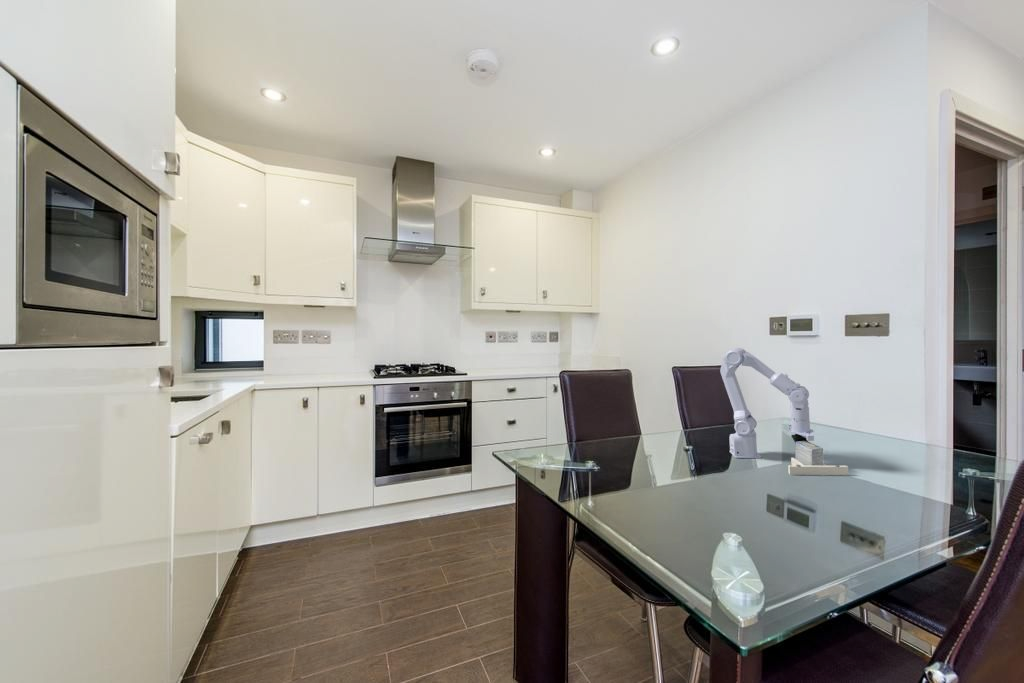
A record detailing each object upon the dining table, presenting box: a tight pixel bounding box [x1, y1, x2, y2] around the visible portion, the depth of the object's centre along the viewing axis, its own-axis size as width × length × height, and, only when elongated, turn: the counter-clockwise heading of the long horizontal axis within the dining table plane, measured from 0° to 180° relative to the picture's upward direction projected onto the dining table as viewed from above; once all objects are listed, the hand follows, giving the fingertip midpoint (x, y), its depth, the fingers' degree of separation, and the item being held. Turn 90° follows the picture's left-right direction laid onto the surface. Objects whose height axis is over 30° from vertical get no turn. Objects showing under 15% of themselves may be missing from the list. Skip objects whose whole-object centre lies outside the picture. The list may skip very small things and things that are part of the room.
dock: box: [787, 457, 849, 476], centre depth 144 cm, size 18×11×3 cm, turn 77°
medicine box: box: [794, 441, 824, 466], centre depth 146 cm, size 8×4×9 cm, turn 3°
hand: (801, 453), depth 150 cm, fingers closed, pressing on medicine box
